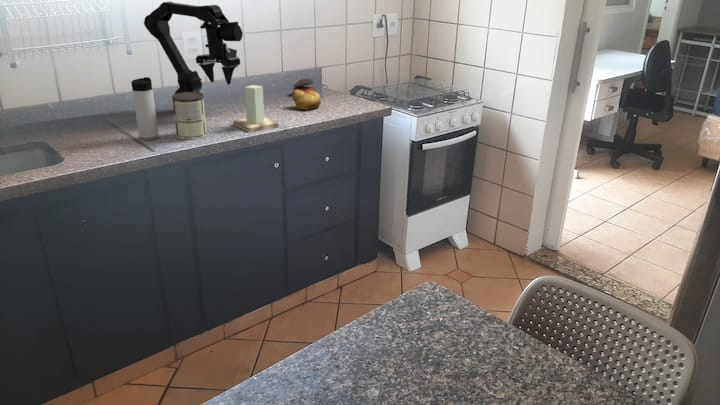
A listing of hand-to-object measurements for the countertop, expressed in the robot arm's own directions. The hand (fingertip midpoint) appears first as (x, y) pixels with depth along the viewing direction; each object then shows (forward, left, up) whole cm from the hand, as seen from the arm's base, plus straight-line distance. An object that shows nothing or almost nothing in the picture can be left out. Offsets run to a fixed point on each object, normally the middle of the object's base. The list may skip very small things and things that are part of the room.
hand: (220, 83), depth 208 cm
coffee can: (-20, -17, -13) cm, 30 cm away
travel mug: (-33, -12, -13) cm, 38 cm away
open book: (+4, -19, -13) cm, 23 cm away
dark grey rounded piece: (+47, +13, -13) cm, 50 cm away
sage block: (+4, -19, -11) cm, 22 cm away
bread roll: (+35, -8, -13) cm, 39 cm away
